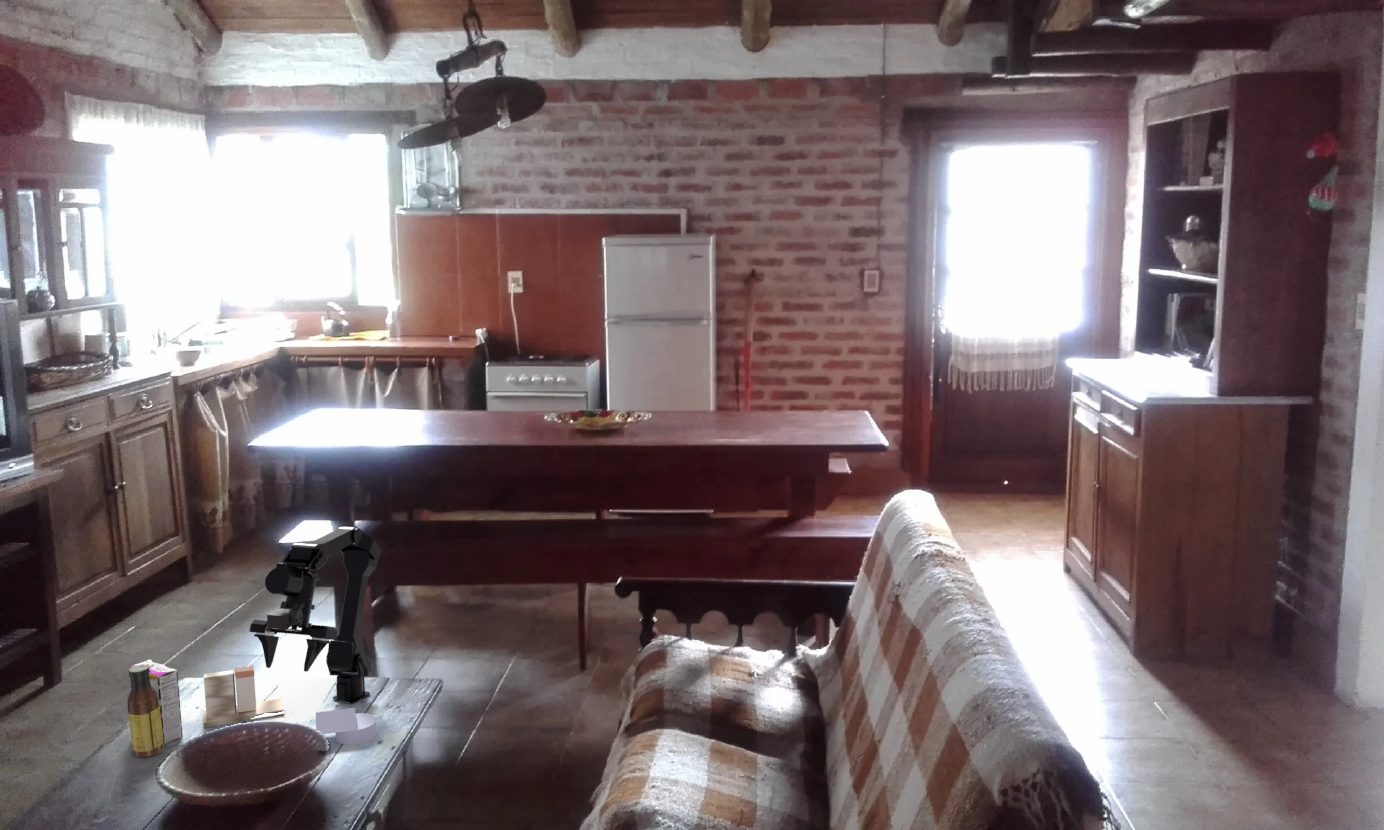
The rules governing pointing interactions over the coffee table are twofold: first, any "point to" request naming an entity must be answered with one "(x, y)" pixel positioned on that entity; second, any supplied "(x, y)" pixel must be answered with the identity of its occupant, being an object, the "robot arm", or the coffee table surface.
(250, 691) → the white tall block
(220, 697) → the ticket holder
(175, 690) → the candy bar box
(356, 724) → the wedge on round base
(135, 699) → the sauce bottle
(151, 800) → the coffee table surface
